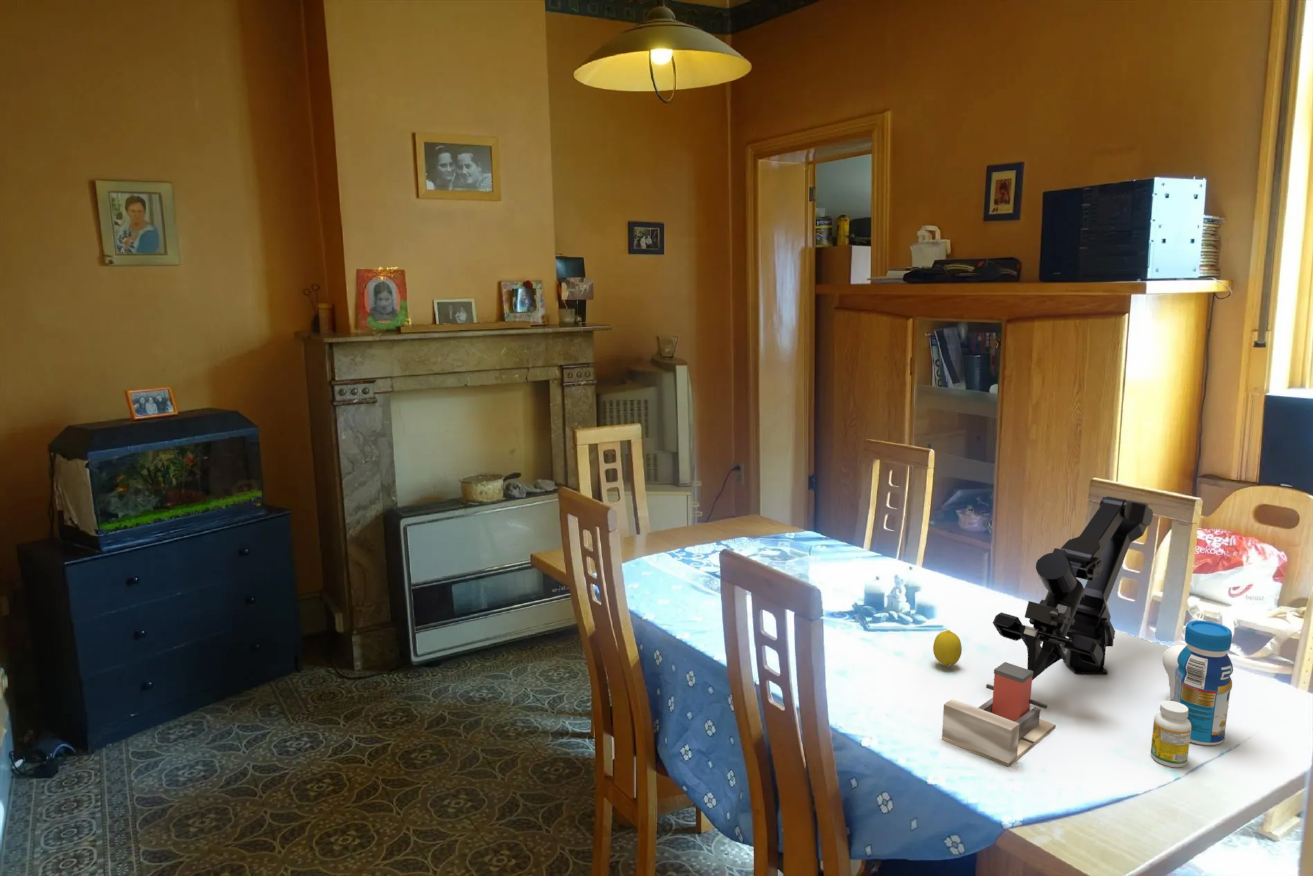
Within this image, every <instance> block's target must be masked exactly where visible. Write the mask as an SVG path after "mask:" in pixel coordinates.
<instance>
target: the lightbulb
mask: <svg viewBox="0 0 1313 876" xmlns="http://www.w3.org/2000/svg"><path fill="white" fill-rule="evenodd" d="M1186 646H1187V645H1183V644H1182V645H1181V644H1178V645H1177V644H1176V645H1172V646H1170V647H1168V648H1167V649H1166V650H1165V651H1164V653H1163V655H1162V659H1161V660H1162V666H1163V667H1164V670H1165V671H1166V674H1167V677H1168V686H1169V687H1168V688H1169V697H1170V698H1171V699H1172V700H1173V697H1174V687H1175V671H1176V669H1177V667H1178V666H1179V664H1178V662H1177V658H1178V656H1179V654H1180V652H1181V651H1182V650H1183V649H1184V648H1185V647H1186Z"/></svg>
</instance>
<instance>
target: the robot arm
mask: <svg viewBox="0 0 1313 876" xmlns="http://www.w3.org/2000/svg"><path fill="white" fill-rule="evenodd" d="M1153 512H1154V511H1153V510H1152V508H1150V507H1149V505H1148V503H1147V502H1142V501H1136V500H1131V499H1126V498H1120V497H1115V496H1109V495H1107V496H1103V497H1102V498H1101V499H1100V502H1099V507H1098V508H1097V509H1096V511H1095V513H1094V515H1093V516H1092V517H1091V519H1090V520H1089V521H1088V523H1087V524H1086V526H1085V527H1084V529H1083V530H1082V532H1081V533H1080V534H1079V535H1078V536H1077V537H1074V538H1071V539H1068V540H1066V542H1065V543H1064V544H1063V545H1062V546H1061V547H1060V548H1057V547H1054V548H1053V551H1052V552H1050V553H1046V554H1043V555H1042V556H1040V558H1039V559H1037V561H1036V563H1035V571H1036V573H1037V574H1038V576H1039V579H1040V580H1041V582H1042V584H1043V586H1044V588H1045V589H1046V590H1047V594H1046V596H1045V598H1044V599H1041V600H1040V601H1039V603H1038V602H1034V601H1030V600H1029V601H1028V602H1027V604H1026V605H1027V606H1026V610H1025V613H1024V618H1025V619H1029V620H1028V622H1029V624H1030V625H1031V626H1029V625H1025V624H1023V623H1022V622H1021V620H1020V618H1019V617H1018V616H1015V615H1012V614H1009V613H1006V612H1005V613H1004V612H999V613H998V614H995V617H994V619H993V622H992V624H993V626H994V627H995V629H996V630H997V632H998V633H999V635H1000V636H1001V637H1003V638H1005V639H1009V640H1012V641H1015V642H1016V641H1020V640H1022V641H1023V643H1024V645H1025V646H1026V648H1027V649H1026V650H1027V665H1026V666H1027V668H1026V669H1028V670H1031V671H1034V672H1033V676H1032V681H1033V680H1035V679H1037V677H1039V676H1040V675H1041V674H1042V673H1043V672H1044V671H1046V670H1047V669H1048V668H1049V667H1051V666H1052V665H1054V664H1056V663H1057V662H1058V661H1060V660H1062V661H1063V662H1064V663H1065V664H1066V666H1068V667H1069V669H1070V670H1072V671H1073V672H1074V673H1075V674H1078V675H1079V674H1080V675H1081V674H1082V675H1083V674H1085V675H1086V674H1087V675H1088V674H1089V675H1090V674H1091V675H1093V674H1094V675H1095V674H1096V675H1106V674H1107V675H1108V670H1107V668H1105V660H1106V651H1107V650H1106V649H1107V648H1109V647H1111V648H1112V647H1113V646H1114V640H1115V635H1116V630H1115V629H1114V626H1113V624H1112V622H1111V612H1110V609H1109V606H1108V601H1109V599H1110V596H1111V593H1112V591H1113V588H1114V585H1115V583H1116V580H1117V578H1118V576H1119V573H1120V570H1121V568H1122V565H1123V564H1124V560H1125V558H1126V555H1127V553H1128V550H1129V547H1130V545H1131V544H1132V543H1133V542H1135V541H1136V540H1138V539H1140V538H1141V537H1142V536H1144V534H1145V532H1146V530H1147V528H1148V526H1150V525H1151V523H1152V521H1153V515H1154V513H1153ZM1079 579H1082V580H1086V583H1085V587H1084V585H1083V583H1082V582H1081V581H1080V580H1079ZM1041 644H1042V645H1041Z"/></svg>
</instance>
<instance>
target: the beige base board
mask: <svg viewBox="0 0 1313 876" xmlns="http://www.w3.org/2000/svg"><path fill="white" fill-rule="evenodd" d="M992 705H993V697H991V698H990V699H988V700H987V701H986V702H984V703H983V704H981V705H980V706H978V707H976V706H973V705H972V704H969V703H966V702H963V701H961V700H958V699H956V698H951V699H949V700H948V701H947V702H945V703H944V704H943V714H942V729H941V730H942V731H941V740H942V741H945V742H947V743H950V744H953V745H954V746H955V745H956V746H957V747H960V748H962V749H965V750H967V751H970V752H971V753H975V754H976V755H979V756H980V757H981V756H982V757H983V758H987V759H989V760H991V761H994V762H995V763H998V764H1001V765H1004V766H1006V767H1007V768H1009V767H1010V766H1012V765H1013V764H1014V763H1015V762H1016V761H1017V760H1019V759H1020V758H1021V757H1023V755H1025V754H1026V753H1027V752H1029V750H1031V749H1032V748H1033V747H1034V746H1035V745H1037V744H1038V743H1040V741H1042V740H1043V738H1045V737H1046V736H1047V735H1049V734H1050V733H1051V732H1053V730H1054V729H1056V724H1055V723H1054V722H1050V721H1048V720H1045V719H1042V718H1040V715H1041V707H1038V706H1033V707H1032V708H1030V711H1028V712H1027V713H1026V714H1025V715H1023V716H1022V717H1021V718H1019V719H1018V720H1017V721H1015V722H1014V721H1011V720H1009V719H1006V718H1003V717H1001V716H998V715H995V714H993V713H992Z"/></svg>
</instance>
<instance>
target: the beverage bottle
mask: <svg viewBox="0 0 1313 876" xmlns="http://www.w3.org/2000/svg"><path fill="white" fill-rule="evenodd" d="M1232 640H1233V632H1232V630H1231V629H1230V628H1229V627H1227V626H1226V625H1223V624H1220V623H1218V622H1213V621H1208V620H1199V619H1197V620H1191V621H1189V622H1187V623H1186V626H1185V633H1184V642H1185V644H1186V645H1185V646H1186V647H1185V648H1184V649H1183V650H1182V651H1181V652H1180V654H1179V656H1178V658H1177V662H1178V664H1179V666H1178V667H1177V669H1176V671H1175V687H1174V697H1173V699H1172V701H1175V702H1179V703H1181V704H1183V705H1185V706H1186V707H1187V708H1188V717H1187V719H1188V720H1189V721H1190V723H1191V734H1190V743H1193V744H1196V745H1200V746H1216V745H1220V744H1221V743H1223V741H1225V738H1226V737H1225V736H1226V726H1227V719H1228V713H1229V711H1228V710H1229V704H1230V703H1229V702H1230V696H1231V691H1232V688H1233V680H1232V677H1231V676H1232V674H1233V672H1234V667H1233V663H1232V662H1233V661H1232V660H1231V657H1229V656H1230V655H1228V652H1229V651H1230V650H1231V647H1232V642H1233V641H1232Z"/></svg>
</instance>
